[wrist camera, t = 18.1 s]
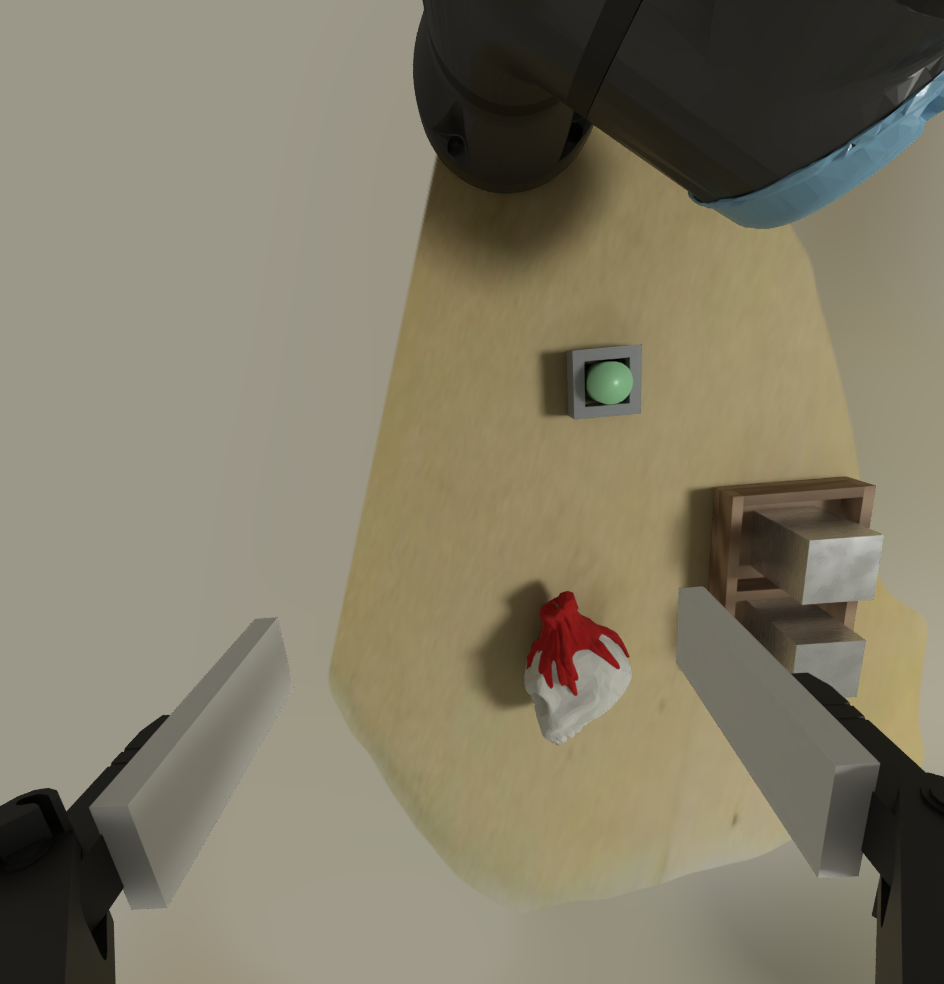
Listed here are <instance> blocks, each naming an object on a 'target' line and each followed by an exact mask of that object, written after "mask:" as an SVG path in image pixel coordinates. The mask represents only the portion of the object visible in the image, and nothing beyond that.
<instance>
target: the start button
mask: <svg viewBox="0 0 944 984" xmlns="http://www.w3.org/2000/svg"><path fill="white" fill-rule="evenodd" d="M584 375H585V394H586V395H587V396H588V397H589V398H590V399H592V400H595V401H598V402H601V403H604V404H609V405H610V404H617V403H619V402H621V401H623V400H624V399H625V398H626V397H627V396H628V395H629V393H630V392H631V389H632V386H633V377H632V373H631V371H630V370H629V368H628V367H627V366H625V365H624V364H622V363H620V362H598V363H595V364H593V365H591V366H590V367H589V368H588V369H587V370H586V372H585V373H584Z"/></svg>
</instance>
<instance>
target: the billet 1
mask: <svg viewBox="0 0 944 984" xmlns="http://www.w3.org/2000/svg"><path fill="white" fill-rule="evenodd" d="M883 539H884V535H883V534H881V533H878V532H876V531H873V530H871V529H869V528H867V527H864V526H862V525H860V524H857V523H855V522H852V521H850V520H848V519H845V518H843V517H841V516H838V515H836V514H834V513H831V512H829V511H827V510H824V509H822V508H819V507H817V506H806V507H793V508H780V509H768V510H755V511H754V516H753V528H752V540H751V552H750V564H749V565H750V566H751V567H752V568H754V569H755V570H756V571H758V572H759V573H760V574H762V575H763V576H764V577H766V578H767V579H768V580H770V581H771V582H772V583H774V584H775V585H776V586H778V587H779V588H780V589H782V590H783V591H784V592H786V593H787V594H788V595H790V596H791V597H793V598H794V599H795V600H797V601H798V602H799V603H801V604H802V605H805V604H819V603H833V602H848V601H862V600H873V599H874V593H875V587H876V581H877V575H878V569H879V563H880V557H881V551H882V544H883Z"/></svg>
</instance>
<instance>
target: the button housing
mask: <svg viewBox="0 0 944 984" xmlns="http://www.w3.org/2000/svg"><path fill="white" fill-rule="evenodd" d="M616 358H620V363H622V364H624V365H625V366H627V367H628V368H629V370H630V371H631V373H632V377H633V386H632V389H631V392H630V393H629V395H628V396H627V397H626V398H625V399H624V400H623V401H621V402H619V403H617V404H610V405H609V404H604V403H601V402H599V403H588V404H585V375H584V361H594V360H605V359H616ZM566 360H567V392H568V416H570V417H571V418H573V419H583V418H595V417H606V416H618V415H629V414H641V363H642V344H639V345H628V346H617V347H606V348H596V349H585V350H574V351H567V352H566Z"/></svg>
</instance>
